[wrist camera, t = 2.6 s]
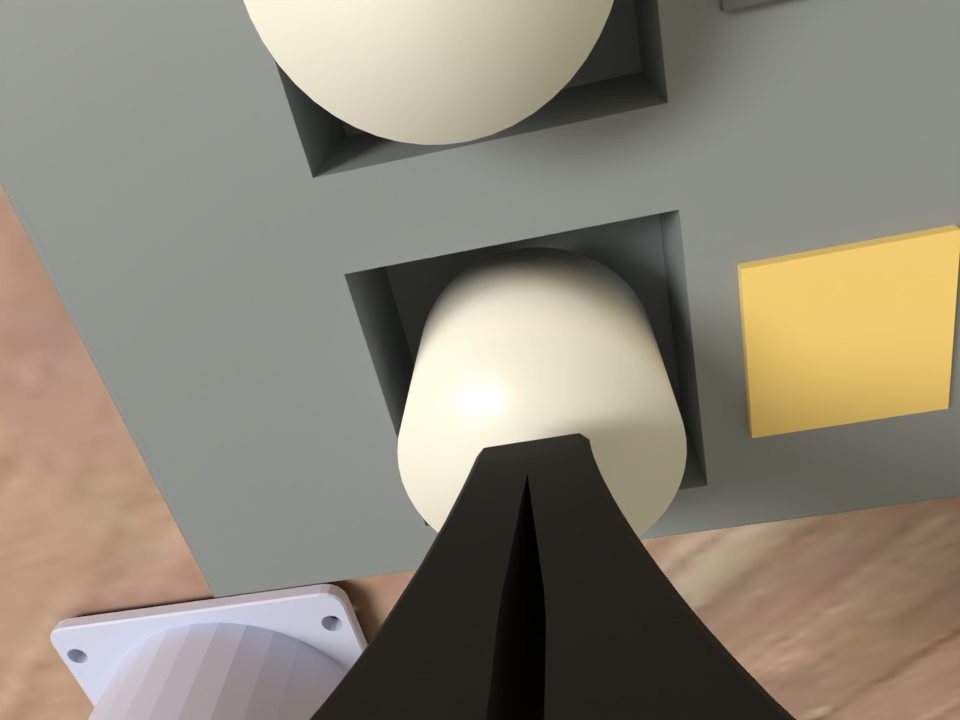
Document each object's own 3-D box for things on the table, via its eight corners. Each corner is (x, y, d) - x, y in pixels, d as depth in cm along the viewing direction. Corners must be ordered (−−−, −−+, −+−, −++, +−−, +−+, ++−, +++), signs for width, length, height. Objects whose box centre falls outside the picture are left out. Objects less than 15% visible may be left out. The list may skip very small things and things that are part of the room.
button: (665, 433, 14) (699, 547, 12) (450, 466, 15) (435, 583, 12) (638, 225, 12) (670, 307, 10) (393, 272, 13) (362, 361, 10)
